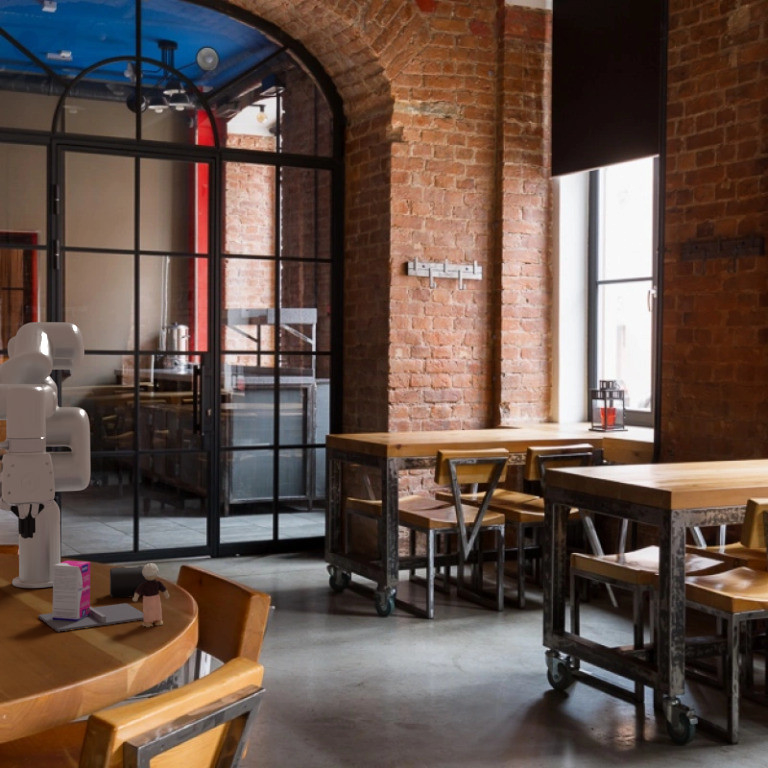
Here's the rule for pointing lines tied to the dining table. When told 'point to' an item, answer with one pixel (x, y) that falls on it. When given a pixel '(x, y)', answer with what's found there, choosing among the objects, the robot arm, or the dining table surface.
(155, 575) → the grandmother figurine
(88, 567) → the supplement box
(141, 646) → the dining table surface
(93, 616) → the mat
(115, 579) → the end cap
